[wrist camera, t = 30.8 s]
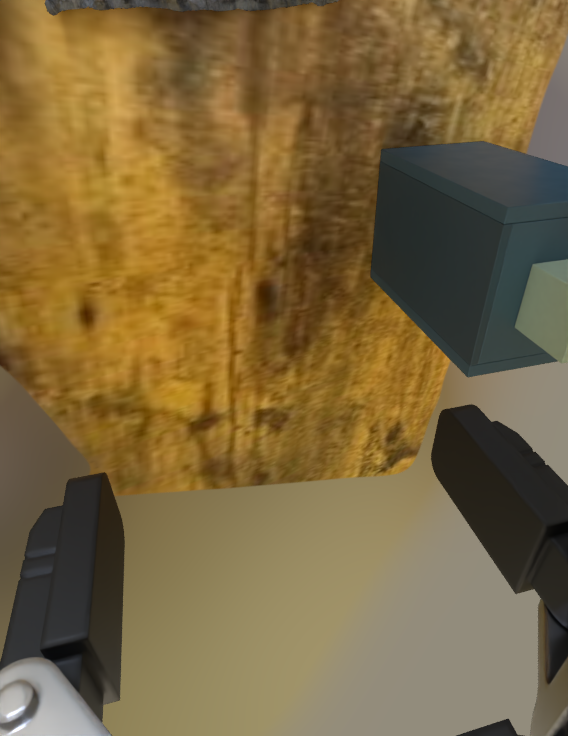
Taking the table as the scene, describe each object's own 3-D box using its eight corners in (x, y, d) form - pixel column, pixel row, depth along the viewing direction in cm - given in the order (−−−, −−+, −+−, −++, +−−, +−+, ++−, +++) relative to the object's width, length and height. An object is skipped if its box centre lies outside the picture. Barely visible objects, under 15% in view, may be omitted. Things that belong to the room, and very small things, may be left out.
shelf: (470, 381, 34) (648, 348, 37) (512, 209, 27) (726, 186, 30) (370, 277, 49) (502, 259, 51) (381, 148, 42) (532, 137, 45)
